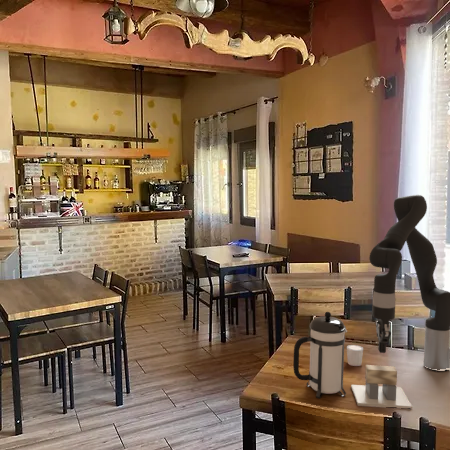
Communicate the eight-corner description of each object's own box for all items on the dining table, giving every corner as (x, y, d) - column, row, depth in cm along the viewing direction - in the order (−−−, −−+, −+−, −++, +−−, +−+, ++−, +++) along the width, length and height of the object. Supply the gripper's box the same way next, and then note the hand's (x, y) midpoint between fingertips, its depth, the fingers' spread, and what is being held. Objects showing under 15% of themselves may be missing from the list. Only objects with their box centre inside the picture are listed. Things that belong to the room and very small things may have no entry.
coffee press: (314, 377, 174) (316, 303, 171) (353, 389, 164) (355, 311, 161) (291, 393, 161) (293, 313, 158) (332, 407, 151) (334, 322, 148)
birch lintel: (393, 380, 159) (394, 366, 158) (396, 385, 155) (397, 371, 154) (365, 378, 160) (365, 364, 160) (367, 382, 156) (367, 369, 156)
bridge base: (400, 390, 164) (401, 374, 163) (412, 409, 150) (412, 392, 150) (351, 387, 166) (351, 371, 166) (357, 405, 152) (358, 389, 152)
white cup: (361, 360, 191) (361, 344, 191) (364, 367, 185) (365, 350, 184) (344, 359, 192) (345, 344, 191) (347, 366, 185) (348, 350, 185)
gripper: (400, 310, 148) (397, 359, 149) (390, 299, 161) (388, 345, 163) (377, 309, 149) (375, 358, 150) (369, 298, 162) (367, 344, 164)
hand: (381, 351), depth 157 cm, fingers closed
